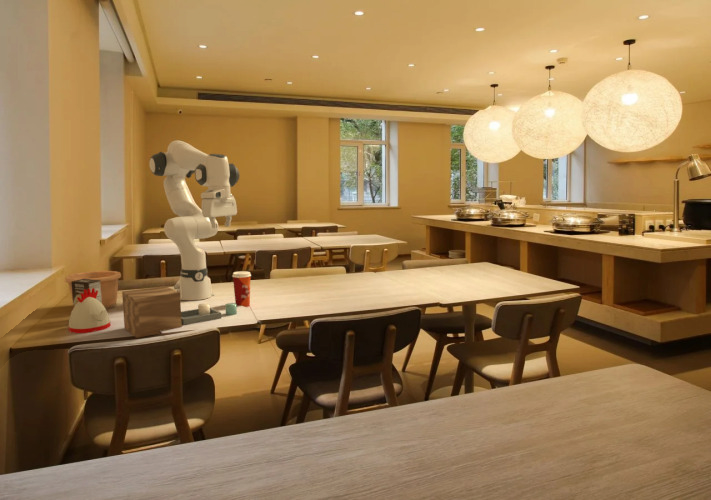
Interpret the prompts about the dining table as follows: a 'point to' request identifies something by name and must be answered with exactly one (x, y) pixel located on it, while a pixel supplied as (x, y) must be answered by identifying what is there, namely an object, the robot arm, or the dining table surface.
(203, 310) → the cream rounded cylinder
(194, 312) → the tray
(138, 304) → the wood grain block
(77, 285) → the coffee box
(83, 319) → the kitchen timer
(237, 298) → the coffee cup
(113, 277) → the pottery
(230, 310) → the teal short cylinder
